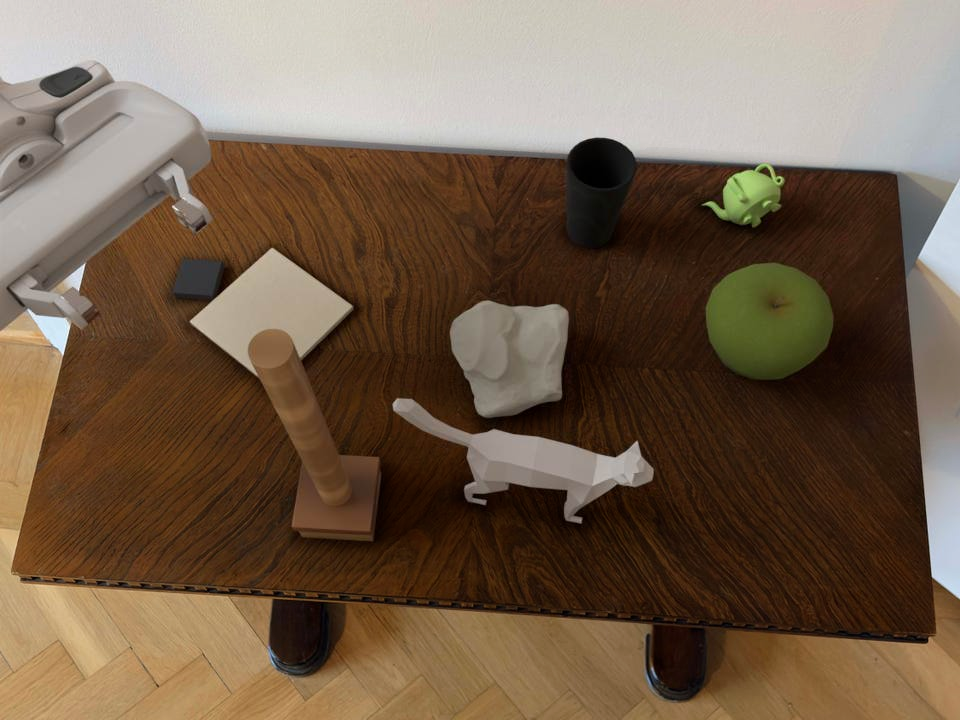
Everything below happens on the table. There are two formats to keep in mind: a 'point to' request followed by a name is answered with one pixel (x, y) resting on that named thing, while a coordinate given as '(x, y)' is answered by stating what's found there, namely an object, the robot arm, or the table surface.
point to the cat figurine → (534, 462)
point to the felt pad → (198, 279)
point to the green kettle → (749, 196)
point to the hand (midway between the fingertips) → (146, 267)
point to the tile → (271, 308)
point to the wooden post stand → (316, 449)
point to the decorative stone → (511, 355)
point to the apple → (768, 320)
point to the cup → (597, 189)
